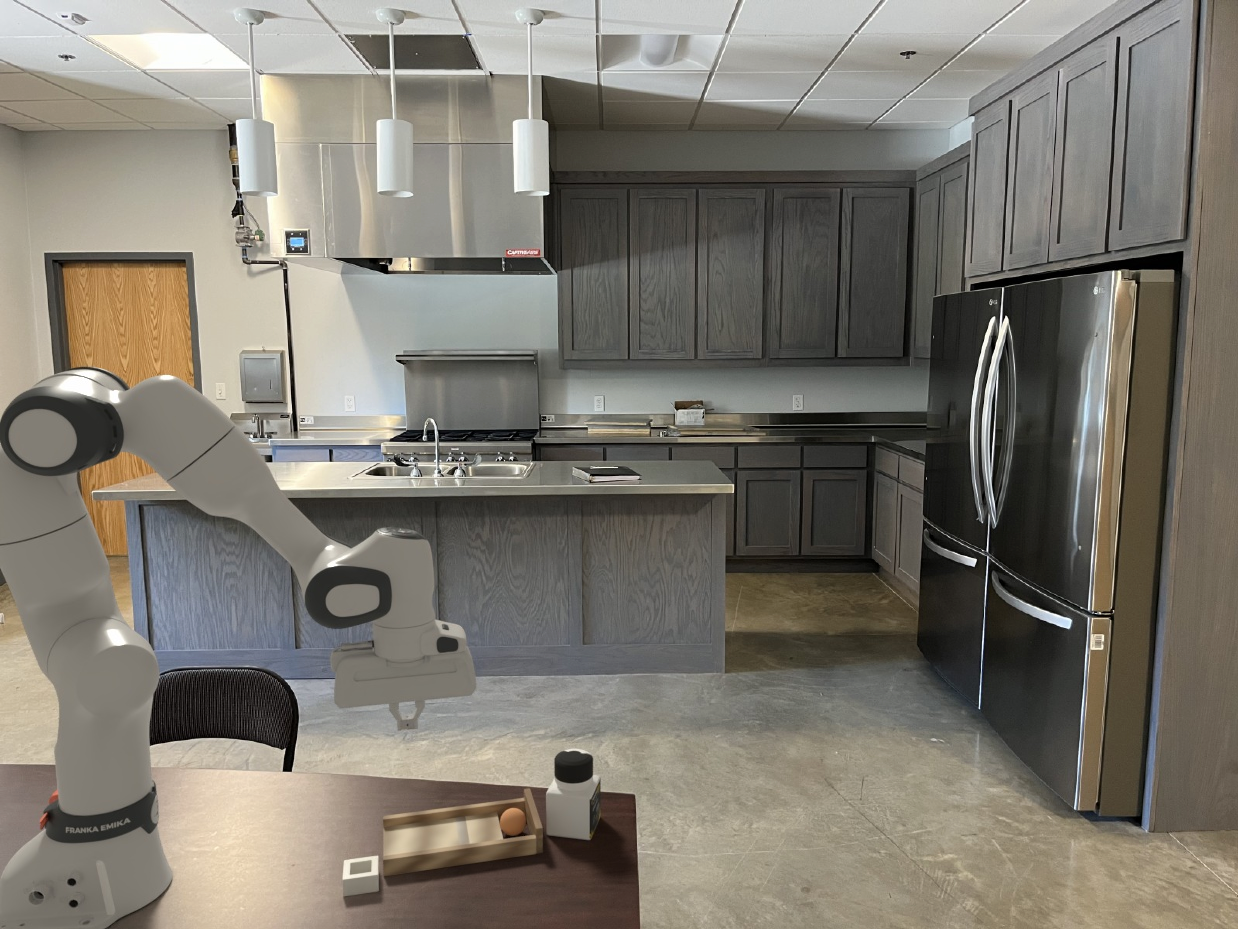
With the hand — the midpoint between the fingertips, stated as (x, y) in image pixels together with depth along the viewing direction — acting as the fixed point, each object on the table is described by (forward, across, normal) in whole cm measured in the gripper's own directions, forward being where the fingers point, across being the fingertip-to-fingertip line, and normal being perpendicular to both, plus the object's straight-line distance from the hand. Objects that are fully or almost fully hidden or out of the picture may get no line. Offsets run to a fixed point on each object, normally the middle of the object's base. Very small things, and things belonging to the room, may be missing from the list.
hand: (407, 728), depth 128 cm
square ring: (+19, -7, -7) cm, 22 cm away
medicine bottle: (+19, +25, 0) cm, 32 cm away
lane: (+19, +7, 0) cm, 20 cm away
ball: (+17, +15, 0) cm, 23 cm away
